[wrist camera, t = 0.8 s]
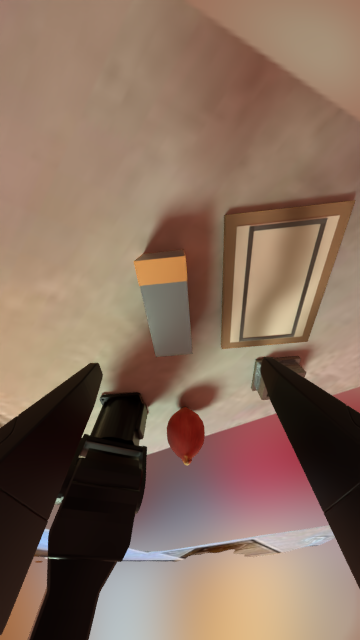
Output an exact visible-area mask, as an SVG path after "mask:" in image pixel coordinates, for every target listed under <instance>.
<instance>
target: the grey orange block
mask: <svg viewBox="0 0 360 640" xmlns="http://www.w3.org/2000/svg"><path fill="white" fill-rule="evenodd" d="M134 265H135V269H136V274H137V278H138V283H139V286H140V288H141V293H142V297H143V302H144V306H145V311H146V315H147V320H148V324H149V329H150V333H151V338H152V342H153V347H154V351H155V356H156V357H161V356H173V355H185V354H193V353H192V340H191V328H190V315H189V303H188V290H187V269H186V256H185V252H184V250H174V251H165V252H156V253H146V254H142V255H141V256H140V257H139V258H137V259H136V260H135V261H134Z"/></svg>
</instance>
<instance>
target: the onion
mask: <svg viewBox="0 0 360 640" xmlns="http://www.w3.org/2000/svg"><path fill="white" fill-rule="evenodd" d="M167 438H168V443H169V445H170V447H171V448H172V450H173V451H174V452H175V453H176V455H177V456H178V457H180V458H181V459H182V461H183V462H184V464H185V465H189V464H190V463H191V461H192V457H194V456H195V455H196V454H197V453H198V452H199V450H200V449H201V447H202V445H203V442H204V425H203V421H202V420H201V419H200V417H199V416H198V414H196V413H195V412H193V411H192V410H190V409H188V408H187V407H183V408H181V409H180V410H179V411H177V412H176V413H175V414H173V416H172V417H171V418H170V420H169V422H168V426H167Z"/></svg>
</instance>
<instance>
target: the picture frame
mask: <svg viewBox="0 0 360 640" xmlns="http://www.w3.org/2000/svg"><path fill="white" fill-rule="evenodd" d="M354 203H355V200H353V201H345V202H336V203H327V204H318V205H309V206H301V207H292V208H283V209H274V210H265V211H257V212H248V213H239V214H230V215H225V217H224V254H223V291H222V328H221V347H222V349H227V348H239V347H250V346H262V345H273V344H285V343H297V342H308V339H309V336H310V333H311V330H312V327H313V324H314V321H315V318H316V315H317V312H318V309H319V306H320V303H321V300H322V297H323V294H324V291H325V288H326V285H327V282H328V280H329V277H330V274H331V271H332V268H333V265H334V262H335V259H336V256H337V253H338V250H339V247H340V244H341V241H342V238H343V235H344V232H345V229H346V226H347V223H348V220H349V218H350V215H351V212H352V209H353V206H354Z"/></svg>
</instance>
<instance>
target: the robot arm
mask: <svg viewBox="0 0 360 640" xmlns="http://www.w3.org/2000/svg"><path fill="white" fill-rule="evenodd" d="M260 373H261V376H262V378H263V381H264V384H265V387H266V390H267V393H268V395H269V398H270V400H271V403H272V405H273V407H274V409H275V411H276V413H277V415H278V418H279V419H280V422H281V424H282V426H283V428H284V430H285V432H286V434H287V436H288V439H289V441H290V443H291V445H292V447H293V449H294V451H295V453H296V455H297V457H298V459H299V461H300V464H301V466H302V468H303V470H304V472H305V474H306V476H307V479H308V481H309V483H310V485H311V487H312V489H313V491H314V493H315V495H316V498H317V500H318V502H319V504H320V506H321V508H322V510H323V512H324V515H325V517H326V519H327V521H328V523H329V525H330V527H331V530H332V532H333V534H334V536H335V538H336V540H337V542H338V544H339V546H340V548H341V551H342V552H343V555H344V557H345V559H346V561H347V563H348V565H349V567H350V570H351V572H352V574H353V576H354V578H355V580H356V582H357V584H358V586H359V588H360V413H359V412H357V411H355V410H354V409H352V408H351V407H349V406H346V404H344V403H343V402H341V401H340V400H338V399H337V398H335V397H333V396H332V395H330V394H329V393H327V392H326V391H324V390H322V389H321V388H319V387H318V386H316V385H315V384H313V383H312V382H310V381H308V380H307V379H305V378H304V377H302V376H301V375H299V374H297V373H296V372H294V371H293V370H291V369H290V368H288V367H286V366H285V365H283V364H282V363H280V362H279V361H277V360H275V359H274V358H272V357H264V358H263V359H262V363H261V366H260ZM102 376H103V374H102V371H101V368H100V365H99V364H98V363H90V364H88V365H87V366H85V367H84V368H83V369H81V370H80V371H79V372H77V373H76V374H74V375H73V376H72V377H70V378H69V379H67V380H66V381H65V382H63V383H62V384H61V385H59V386H58V387H56V388H55V389H54V390H52V391H51V392H50V393H48V394H47V395H45V396H44V397H43V398H41V399H40V400H39V401H37V402H36V403H34V404H33V405H32V406H30V407H29V408H27V409H26V410H25V411H23V412H22V413H21V414H19V415H18V416H16V417H15V418H14V419H12V420H11V421H9V422H8V423H7V424H5V425H4V426H2V427H1V428H0V635H1V634H2V632H3V630H4V628H5V626H6V624H7V621H8V619H9V616H10V614H11V611H12V609H13V607H14V604H15V602H16V599H17V597H18V594H19V592H20V589H21V587H22V584H23V582H24V579H25V577H26V574H27V572H28V569H29V567H30V564H31V562H32V559H33V557H34V554H35V552H36V549H37V547H38V544H39V542H40V539H41V537H42V534H43V532H44V530H45V527H46V525H47V522H48V521H47V520H48V519H49V517H50V514H51V512H52V509H53V507H54V504H55V505H60V507H59V510H58V512H57V514H56V516H55V519H54V521H53V524H52V526H51V529H50V531H49V536H48V570H47V588H46V591H45V594H44V596H43V599H42V602H41V604H40V607H39V610H38V613H37V615H36V618H35V621H34V624H33V626H32V629H31V632H30V634H29V637H28V640H88V639H89V635H90V631H91V626H92V622H93V618H94V614H95V609H96V605H97V601H98V597H99V593H100V591H101V589H102V587H103V586H104V584H105V582H106V580H107V579H108V577H109V575H110V573H111V572H112V570H113V568H114V566H115V565H116V563H117V562H121V561H122V560H123V558H124V556H125V554H126V551H127V549H128V547H129V545H130V541H131V534H132V528H133V522H134V517H135V514H136V513H138V511H139V509H140V506H141V503H142V499H143V495H144V489H145V481H146V456H147V447H146V446H143V447H142V446H139V440H140V439H143V437H144V431H145V425H146V419H147V410H146V407H145V404H144V403H143V401H142V398H141V395H140V394H139V393H128V394H115V395H102V396H101V397H100V401H101V403H102V405H103V406H102V408H101V411H100V413H99V416H98V418H97V420H96V423H95V425H94V428H93V430H92V432H91V435H90V436H89V435H88V434H84V436H83V438H81V437H82V435H83V432H84V430H85V427H86V425H87V422H88V420H89V417H90V415H91V412H92V410H93V407H94V405H95V401H96V398H97V395H98V391H99V388H100V384H101V381H102ZM80 456H83V457H85V458H80Z"/></svg>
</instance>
